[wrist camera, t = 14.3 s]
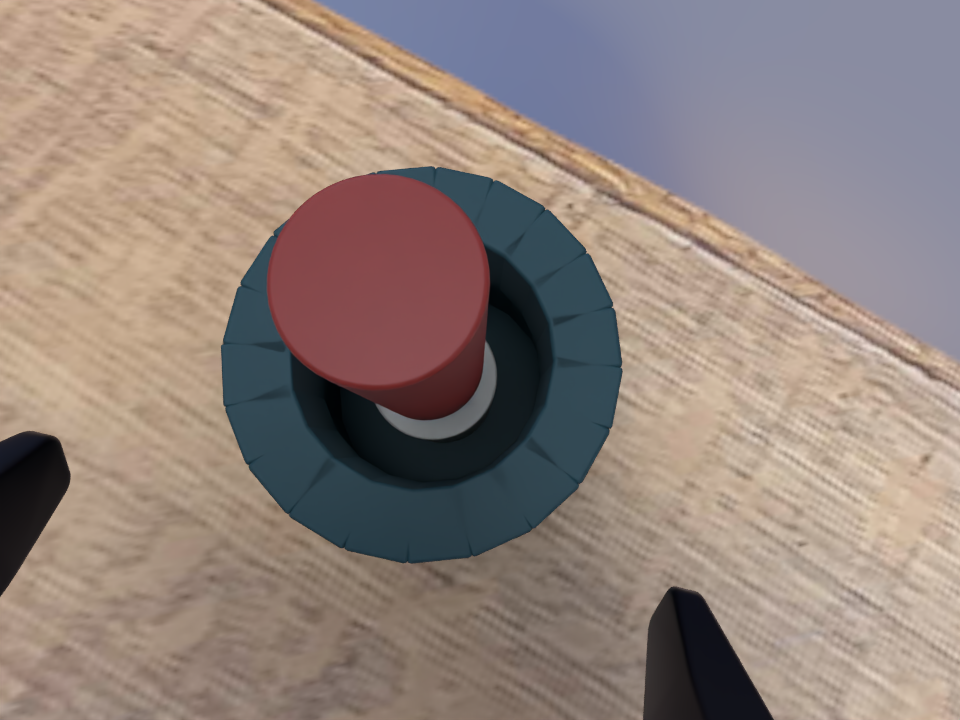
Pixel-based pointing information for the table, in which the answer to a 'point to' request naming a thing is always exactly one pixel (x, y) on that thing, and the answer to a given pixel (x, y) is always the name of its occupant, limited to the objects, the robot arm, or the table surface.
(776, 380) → the table surface
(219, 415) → the table surface
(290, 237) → the red cylindrical rod
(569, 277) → the teal hollow cylinder
